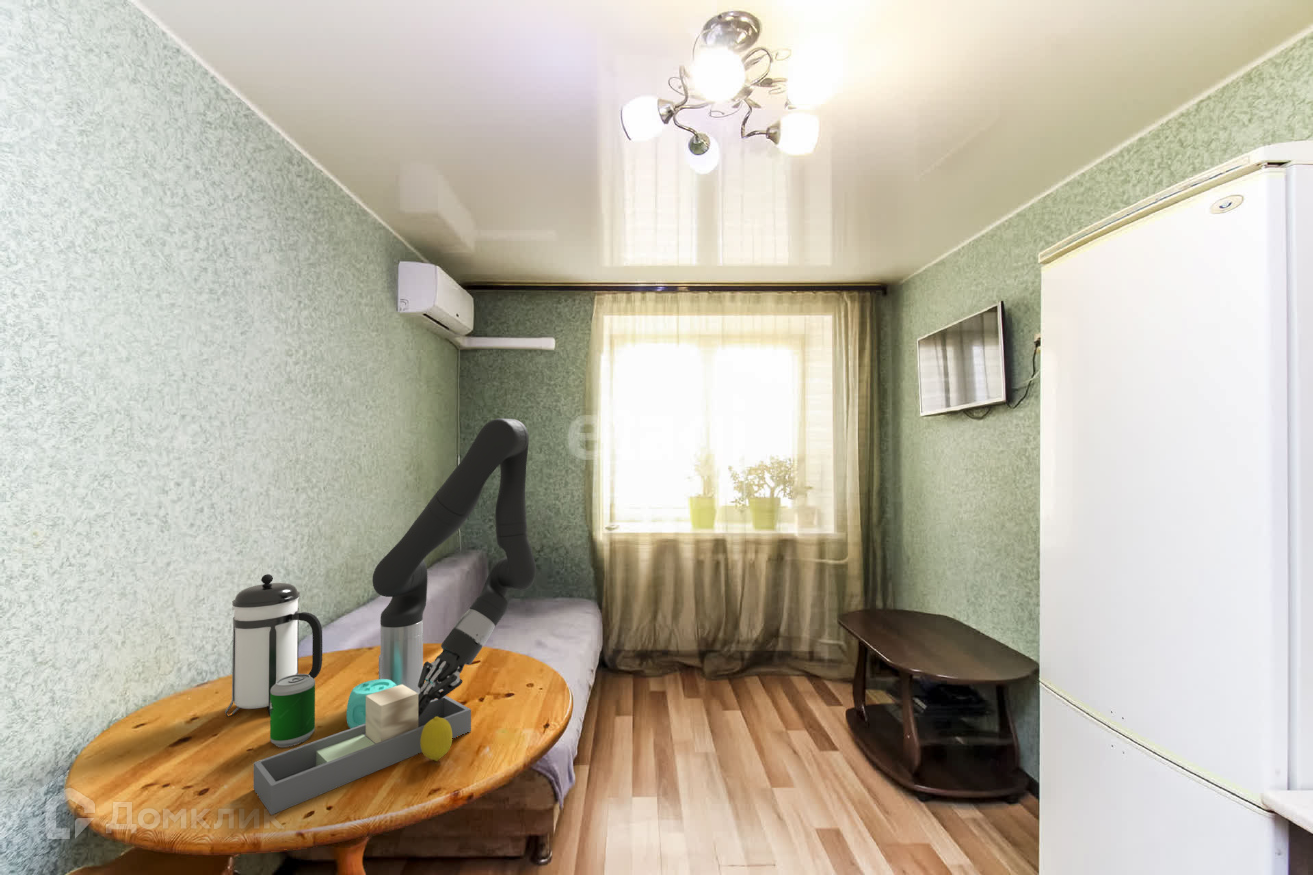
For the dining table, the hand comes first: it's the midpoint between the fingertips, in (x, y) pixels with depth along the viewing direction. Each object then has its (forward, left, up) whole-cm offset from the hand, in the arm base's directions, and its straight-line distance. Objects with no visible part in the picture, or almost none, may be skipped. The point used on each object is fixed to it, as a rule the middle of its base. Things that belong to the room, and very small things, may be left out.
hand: (413, 714), depth 110 cm
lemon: (+10, -2, -6) cm, 12 cm away
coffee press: (-44, -6, -6) cm, 45 cm away
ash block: (-1, -4, -2) cm, 5 cm away
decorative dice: (-14, 0, -6) cm, 15 cm away
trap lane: (-1, -8, -5) cm, 9 cm away
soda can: (-22, -12, -6) cm, 26 cm away
